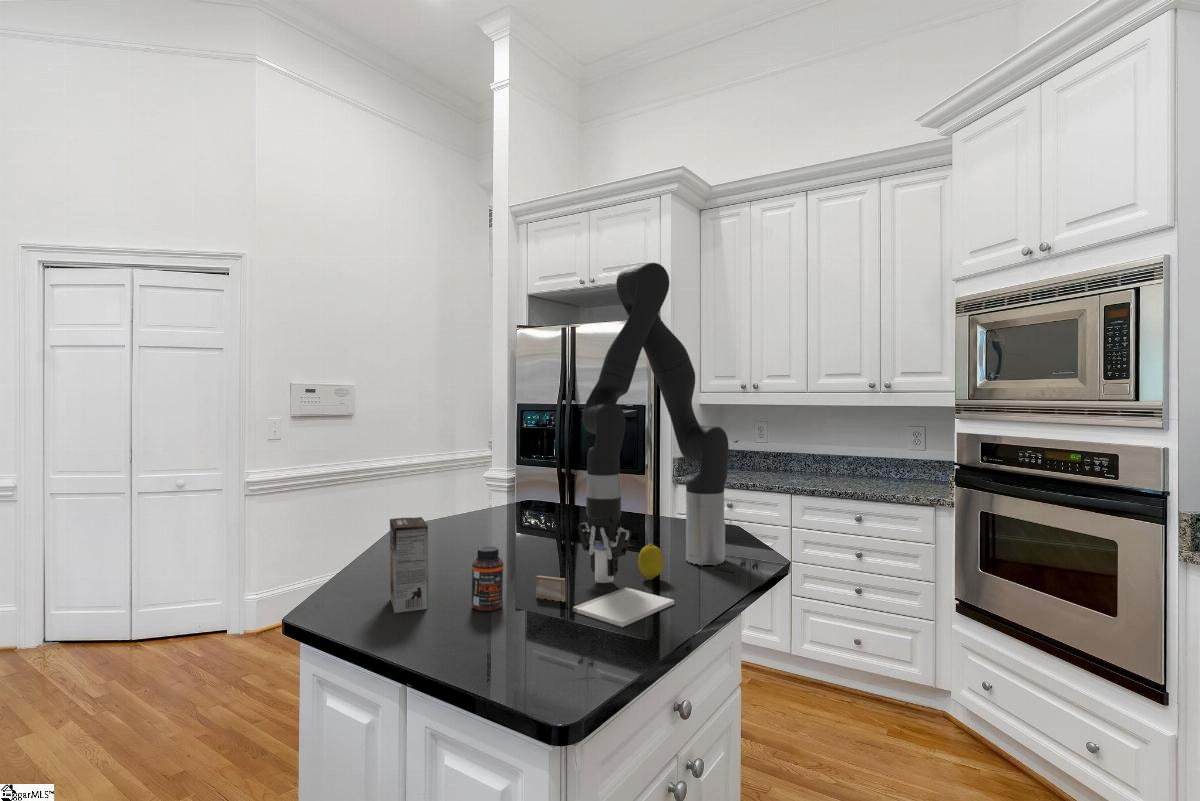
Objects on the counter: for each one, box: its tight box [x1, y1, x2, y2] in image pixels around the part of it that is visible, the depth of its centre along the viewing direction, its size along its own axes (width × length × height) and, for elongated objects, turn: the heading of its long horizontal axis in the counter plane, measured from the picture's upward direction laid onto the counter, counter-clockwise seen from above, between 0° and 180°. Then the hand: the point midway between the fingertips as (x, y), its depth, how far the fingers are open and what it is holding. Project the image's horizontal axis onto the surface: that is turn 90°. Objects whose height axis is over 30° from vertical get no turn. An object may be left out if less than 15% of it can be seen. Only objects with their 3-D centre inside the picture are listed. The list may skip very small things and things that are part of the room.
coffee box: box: [389, 516, 429, 614], centre depth 121 cm, size 9×6×16 cm
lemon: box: [637, 543, 664, 581], centre depth 137 cm, size 6×6×8 cm
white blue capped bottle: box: [594, 541, 614, 584], centre depth 134 cm, size 4×4×8 cm
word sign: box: [535, 575, 566, 603], centre depth 123 cm, size 1×6×4 cm, turn 69°
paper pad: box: [572, 587, 675, 628], centre depth 119 cm, size 16×12×1 cm
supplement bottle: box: [471, 545, 504, 612], centre depth 119 cm, size 6×6×11 cm
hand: (604, 573), depth 134 cm, fingers closed on white blue capped bottle, 4 cm apart
